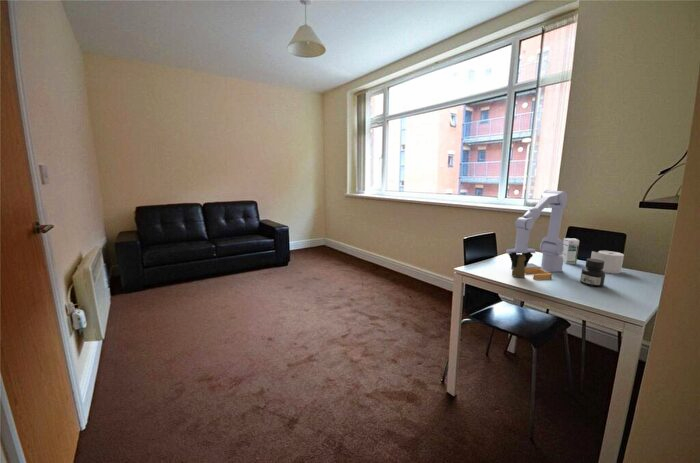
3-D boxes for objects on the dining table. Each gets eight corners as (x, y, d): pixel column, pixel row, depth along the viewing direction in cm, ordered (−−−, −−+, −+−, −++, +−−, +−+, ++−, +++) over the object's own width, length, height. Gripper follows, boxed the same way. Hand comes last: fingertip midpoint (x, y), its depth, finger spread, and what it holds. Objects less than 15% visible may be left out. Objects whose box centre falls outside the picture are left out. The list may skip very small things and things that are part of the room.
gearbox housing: (531, 268, 167) (532, 261, 167) (553, 278, 151) (554, 271, 150) (511, 268, 166) (511, 262, 166) (531, 279, 150) (532, 271, 149)
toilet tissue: (626, 273, 159) (629, 255, 157) (603, 273, 159) (606, 255, 157) (609, 267, 169) (612, 250, 167) (588, 267, 169) (591, 250, 167)
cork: (523, 273, 156) (526, 253, 154) (525, 277, 151) (528, 256, 148) (510, 272, 158) (513, 252, 156) (512, 276, 153) (514, 255, 151)
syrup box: (565, 263, 176) (569, 239, 174) (560, 260, 182) (563, 237, 179) (576, 264, 175) (580, 240, 173) (570, 261, 181) (574, 237, 178)
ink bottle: (575, 282, 147) (578, 258, 144) (585, 279, 150) (589, 256, 148) (597, 289, 138) (601, 264, 136) (608, 286, 142) (612, 262, 139)
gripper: (513, 243, 146) (510, 269, 149) (541, 242, 147) (537, 268, 150) (504, 240, 153) (502, 265, 156) (531, 239, 154) (528, 264, 157)
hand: (519, 266), depth 154 cm, fingers closed on cork, 5 cm apart
